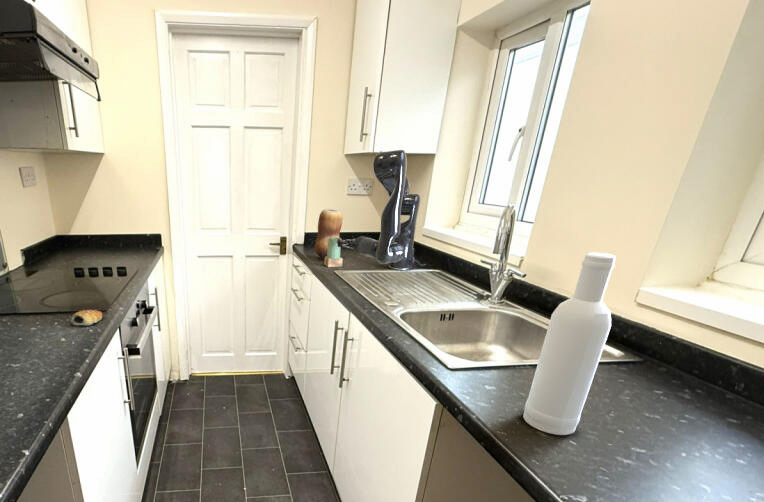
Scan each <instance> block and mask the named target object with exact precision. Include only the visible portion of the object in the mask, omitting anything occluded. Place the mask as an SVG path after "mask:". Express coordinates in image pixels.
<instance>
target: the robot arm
mask: <svg viewBox="0 0 764 502" xmlns="http://www.w3.org/2000/svg"><path fill="white" fill-rule="evenodd" d="M407 167H408V157H407V153H406V151H405V150H404V149H396V150H387V151H381V152H378V153H377V154H375V156H374V158H373V161H372V171H373V174H374V177H375V179H376V180H377V181H378V182H379V183H380V185H381V186H382V187H383V189H384V191H385V193H386V195H387V197H388V201H386V203H385V205H384V207H383V209H382V212H381V215H380V233H379V238H378V239H377V240H376V239H374V238H371V237H367V236H364V235H361V236H358V237H357V238H356V237H354V238H353V239H341V240H340V239H338V240H337V244H338V245H337V246H338V247H341V248H342V249H351V250H352V251H353V252H354V254H355V253H356V254H357V255H359V256H363V257H366V258H372V259H376V260H377V262H378V263H379V264H380V265H381V264H382V265H385V264H386V265H387V264H389V266H388V268H389V269H391V270H395V271H408V270H412V268H413V264H415V262H416V264H417V265H418V266H419V267H426V266H427V263H423V264H421V263H420V261H419V260H417V259H415V258H416V257H415V248H414V242H415V236H416V229H417V228H416V227H417V221H418V217H419V211H420V205H421V196H420V194H419V193H411V188H412V187H411V183H410V180H409V178H408V176H407ZM401 216H408V218H407V219H406V220H404V221H402V220H401V218H402V217H401ZM401 221H402V222H401Z"/></svg>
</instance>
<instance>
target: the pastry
mask: <svg viewBox="0 0 764 502" xmlns="http://www.w3.org/2000/svg"><path fill="white" fill-rule="evenodd" d="M101 320H103V312H102V311H100V310H97V309H82V310H80V311H77V312H75V313H73V314H72V316H71V318H70V323H71V324H72V325H73V326H78V327H79V326H82V327H85V326H86V327H87V326H91V325H93V324H94V323H96V324H97V323H98V322H99V321H101Z"/></svg>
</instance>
